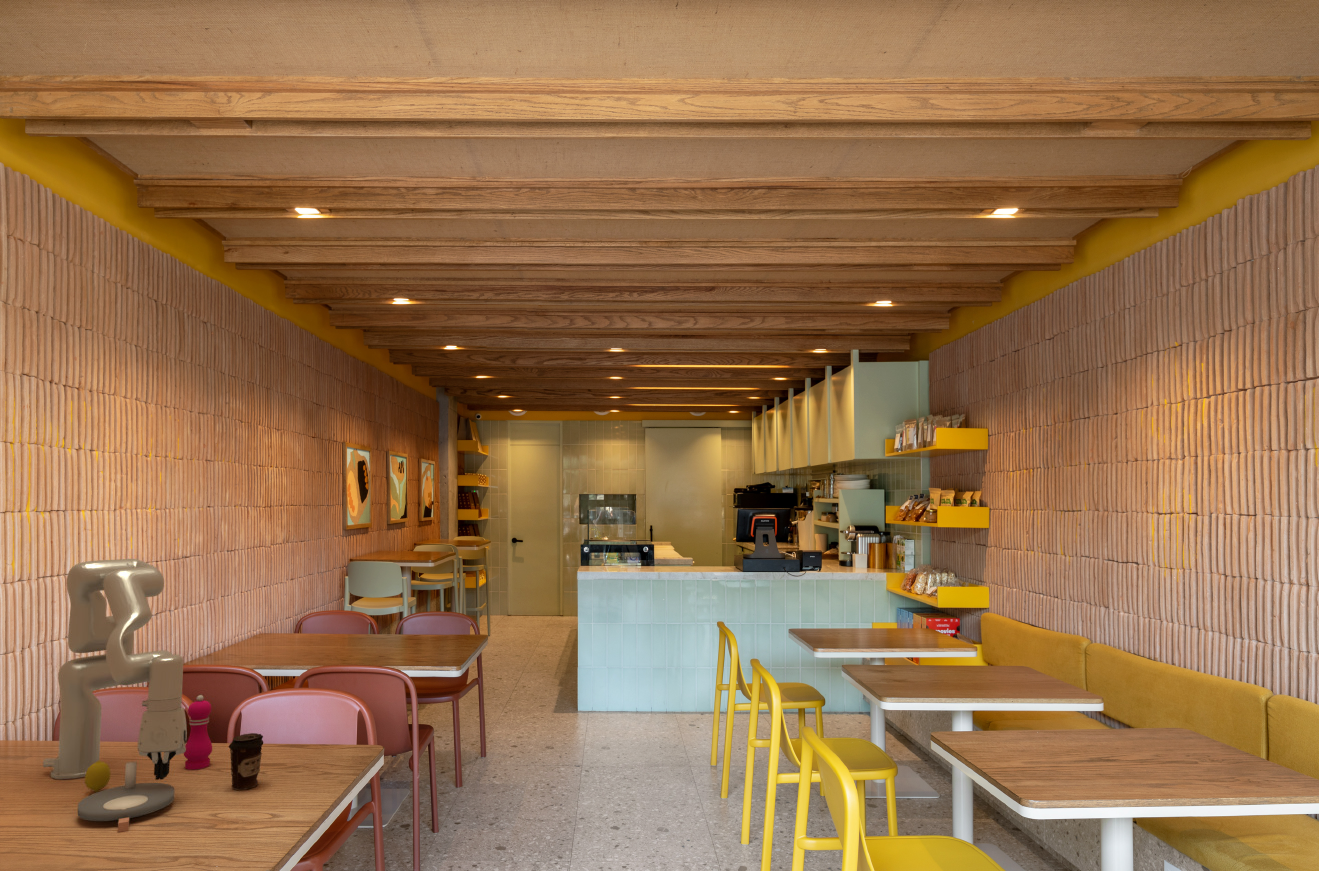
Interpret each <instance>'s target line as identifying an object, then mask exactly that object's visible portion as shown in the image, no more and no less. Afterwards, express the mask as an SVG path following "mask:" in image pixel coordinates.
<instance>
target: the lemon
mask: <svg viewBox="0 0 1319 871" xmlns="http://www.w3.org/2000/svg"><path fill="white" fill-rule="evenodd" d="M110 780H111V768H110V766H109V765H108V763H106V762H104V761H101V760H99V761H97V762H96V763H94V764H92V765H91V766H90V767H89V768H88V770H87V772H86V775H85V777H84V783H85V784H84V785H85V786H86V787H87V788H88V789H89V790H91V791H93V792H94V793H97V792H100V791H101V789H104V788H105V787H106V786H107V785H108V784H109V782H110Z"/></svg>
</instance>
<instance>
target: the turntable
mask: <svg viewBox="0 0 1319 871" xmlns="http://www.w3.org/2000/svg"><path fill="white" fill-rule="evenodd" d="M137 765H138V763H137V761H129V762H126V763H125V767H124V770H125V772H124V785H120V786H119V785H118V786H116V787H112V788H106V789H104V790H100V791H99V792H94V793H92V794H91V795H90V794H89V795H88V796H86V797H84V798H83V799H81V800H80V801H79V802H78V804H77V816H78V818H80V819H82V820H84V821H93V822H112V821H111V820H119V819H122V818H128V817H129V818H132V817H136V816H139V817H142V816H145V815H148V814H150V813H154V812H156V811H159V810H161V809H163V808H166V807H167V806H168V805H170V804H172V803H173V802H174V800H175V791H176V789H175V787H174V786H173V785H171V784H168V783H162V782H143V783H142V782H141V783H137ZM144 814H145V815H144ZM141 815H142V816H141ZM136 818H137V817H136ZM132 819H133V818H132Z"/></svg>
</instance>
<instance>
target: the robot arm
mask: <svg viewBox="0 0 1319 871" xmlns="http://www.w3.org/2000/svg"><path fill="white" fill-rule="evenodd" d="M164 579H165V578H164V576H163V574H162V572H161V571H160V570H159V569H158V567H156V566H154V565H153V564H150V563H147V562H145V561H144V560H143V561H142V560H140V559H137V558H123V559H103V560H102V559H99V560H89V561H83V562H80V563H76V564H74V565H73V566H72V567H71V568H70V569H69V571H68V574H67V576H66V590H67V593H68V597H69V602H70V610H69V618H68V619H69V622H68V631H67V632H68V635H67V644H68V649H69V650H70V651H71V652H73V653H75V654H86V653H94V652H95V653H96V652H102V651H105V653H104V654H98V655H96V654H95V655H90V656H89V655H88V656H84V657H83V656H82V657H76V658H73V659H70V660H68V661H66V662H65V663H63V664H62V665H61V666H60V667H59V670H58V672H57V681H58V686H59V687H58V688H59V693H60V694H59V695H60V718H59V719H60V720H59V735H58V736H59V738H58V755H57V757H56V758H54V757H53V758H52V757H49V758H43V762H42V766H43V768H51V767H52V769H53V770H51V771H50V777H51V778H52V779H56V780H70V779H79V778H85V775H86V772H87V770H88V768H89V767H90V766H91V765H92V764H94V763H96V762H97V761H100V752H101V750H100V749H101V733H102V732H101V729H102V703H101V702H100V700H99V698H98V697H97V696H95V694H94V692H93V691H97V690H101V689H108V688H112V687H117V686H132V685H136V684H142V683H148V691H147V699H146V700H143V701H141V707H145V708H146V710H144V712H143V714H142V716H141V721H140V725H139V731H138V741H137V751H138V755H139V756H143V757H148V758H149V759H150V760H151V761H152V764H154V766H153V768H154V769H153V775H154V776H155V780H156V781H158V780H161V781H162V780H164V779H165V778H166V777H168V775H169V773H170V766H171V765H170V761H171V760H172V759H173V758H174V757H175V756H179V755H182V754H183V755H184V752H185V751H186V747H185V745H186V743H187V740H188V738H187V734H188V732H187V728H188V727H187V718H186V712H185V708H184V707H182V701H183V700H182V697H183V680H184V679H183V678H184V677H183V676H184V675H183V674H184V658H183V657H182V655H179V654H172V652H170V651H168V650H162V649H161V650H154V651H147V652H139V653H133V652H134V639H135V638H134V637H135V631H137V630H139V629H141V628H142V627H145V625H147V624H148V623H149V622H150V621H151V619H152V616H153V612H152V609H151V607H150V605H149V602H148V598H152V597H156V596H159V595H160V594H161V593H162V592H163V590H164V588H165V580H164ZM102 591H104V595H105V596H104V595H103V593H102ZM107 603H108V605H109V610H110V612H111V614H112V615H108V616H107ZM162 753H163V755H162Z"/></svg>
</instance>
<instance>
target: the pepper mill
mask: <svg viewBox="0 0 1319 871" xmlns="http://www.w3.org/2000/svg"><path fill="white" fill-rule="evenodd" d="M211 712H212V705H211V703H210V701H208V700H205V698H204V696H203V695H202V694H200V695H198V696H196V701H193V702H191V703H190V705H189V706H188V708H187V715H188V717H189V718H190V719H189V723H188V725H190V734H189V736H188V738H187V740H186V744H185V747H186V751H185V752H184V753H183V757H184V758H185V759H186V760H185V762H184V768H185V770H191V771H194V770H201V769H205V768H207V767H209V766H210V765H211V758H210V757H209V756H210V755H211V754H212V752H213V744H212V741H211V739H210V736H209V733H208V723H209V722H210V716H209V715H210V714H211Z"/></svg>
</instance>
